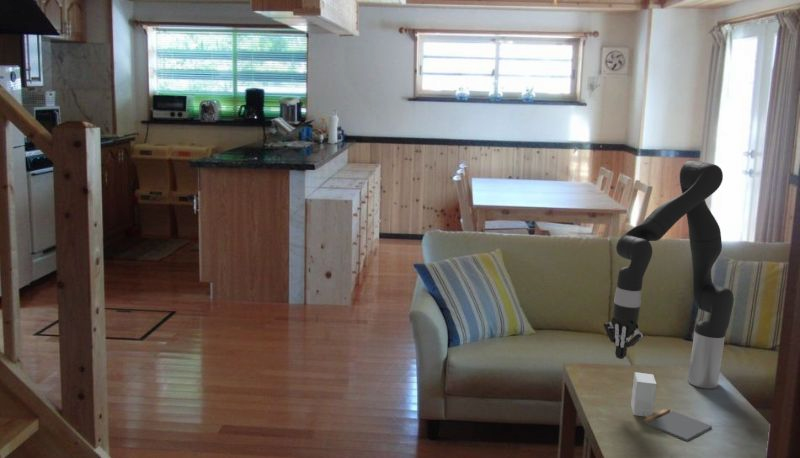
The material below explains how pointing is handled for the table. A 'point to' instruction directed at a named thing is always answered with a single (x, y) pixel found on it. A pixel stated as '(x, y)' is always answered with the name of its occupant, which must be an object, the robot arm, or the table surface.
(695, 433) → the rubber mat
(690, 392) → the table surface
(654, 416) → the oak ledge
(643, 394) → the small box
